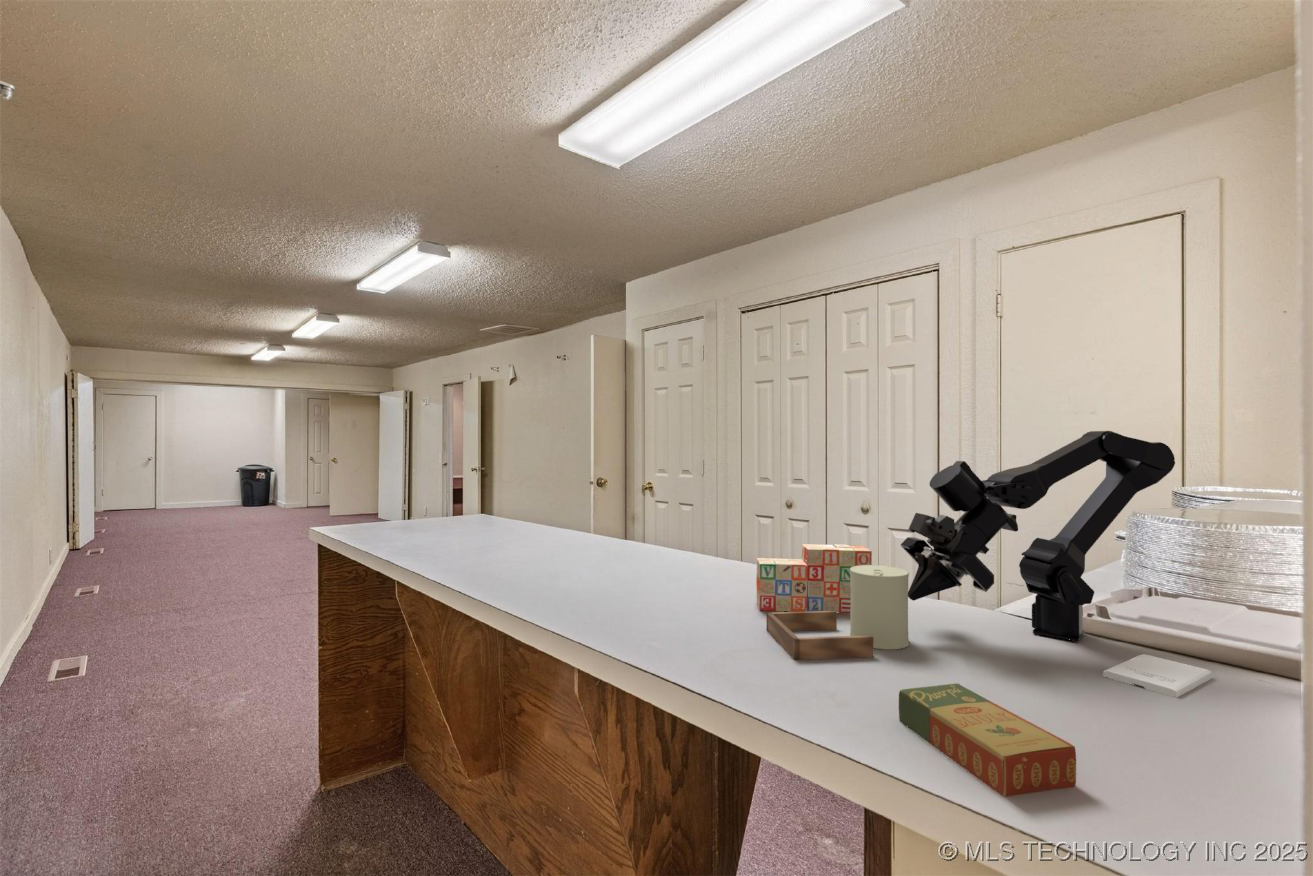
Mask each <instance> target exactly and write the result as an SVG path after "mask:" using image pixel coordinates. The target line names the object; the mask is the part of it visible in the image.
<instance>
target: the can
mask: <svg viewBox="0 0 1313 876" xmlns="http://www.w3.org/2000/svg"><path fill="white" fill-rule="evenodd" d="M909 575H910V573H909V571H908V570H906V569H903V568H900V567H895V566H889V565H880V564H879V565H878V564H876V565H875V564H872V565H859V566H853V567H851V568H850V582H851V613H850V628H849V629H850V630H849V631H850V632H849V636H867V635H871V636H873V649H874V648H875V649H874V650H881V651H882V650H885V651H893V650H902V649H901V648H903V649H906V648H907V647H909V645H910V640H909V597H908V591H909ZM905 647H906V648H905Z"/></svg>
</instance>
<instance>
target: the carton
mask: <svg viewBox="0 0 1313 876" xmlns="http://www.w3.org/2000/svg"><path fill="white" fill-rule="evenodd" d="M898 719H899V722H900V723H901V722H902V723H901V724H903V725H904V724H905V725H904V726H906V727H907V726H908V727H909V730H911V731H913V732H914V733H915V734H917V735H918V736H919V737H921V738H922V739H924V740H925V741H927V742H928V743H929V744H931V745H932V746H933V747H935V748H936V749H938V750H939V751H940V752H941V753H943V754H944V755H945V756H947V757H949V758H950V759H951V760H953V761H954V762H955V763H957V765H959V766H960V767H962V768H964V770H966V771H968V772H969V773H970V774H972V775H973V776H974V777H976V778H977V779H979V780H980V781H981V782H983V783H985V785H987V786H989V788H991V789H992V790H994V791H995V792H997V793H998V794H999V795H1000V796H1002V797H1003V798H1004V797H1012V796H1018V795H1026V794H1034V793H1040V792H1046V791H1054V790H1061V789H1066V788H1067V789H1069V788H1074V787H1076V784H1077V753H1076V747H1075V745H1073V744H1071V743H1070V742H1068V741H1067V740H1064V739H1063V738H1061V737H1059V736H1057V735H1055V734H1053V733H1052V732H1050V731H1047V730H1045V729H1043V728H1042V727H1039V726H1038V725H1037V724H1035V723H1033V722H1030V721H1028V720H1026V719H1024V718H1023V717H1021V716H1019V715H1017V714H1015V713H1014V712H1012V711H1009V710H1008V709H1006V708H1004V707H1002V706H1000V705H998V704H997V703H994V702H993V701H992V700H989V699H987V698H986V697H983V696H981V695H979V694H978V693H976V692H974V691H972V690H971V689H968V688H966V687H965V686H963V685H961V684H960V683H958V682H957V683H950V684H949V683H948V684H941V685H940V684H939V685H931V686H922V687H913V688H902V689H899V692H898ZM908 727H907V728H908Z"/></svg>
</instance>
